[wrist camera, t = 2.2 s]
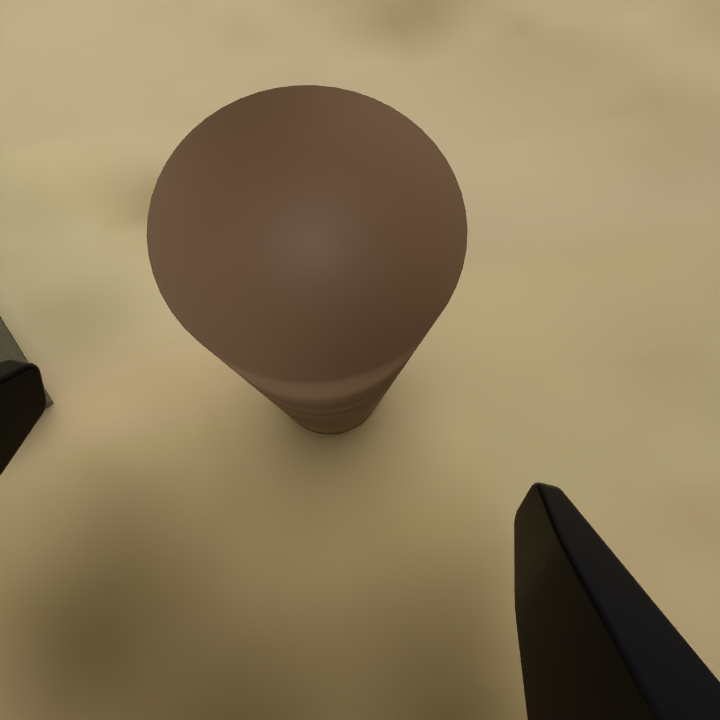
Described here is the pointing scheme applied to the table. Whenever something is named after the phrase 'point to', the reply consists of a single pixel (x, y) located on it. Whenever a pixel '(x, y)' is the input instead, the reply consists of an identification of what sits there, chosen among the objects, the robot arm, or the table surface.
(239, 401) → the table surface
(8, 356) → the bore block
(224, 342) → the walnut pin
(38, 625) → the table surface
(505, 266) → the table surface
